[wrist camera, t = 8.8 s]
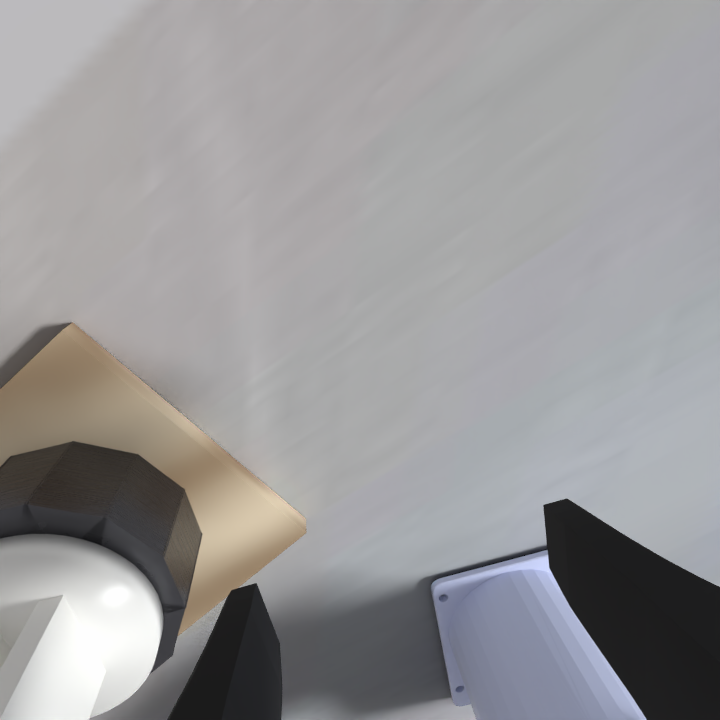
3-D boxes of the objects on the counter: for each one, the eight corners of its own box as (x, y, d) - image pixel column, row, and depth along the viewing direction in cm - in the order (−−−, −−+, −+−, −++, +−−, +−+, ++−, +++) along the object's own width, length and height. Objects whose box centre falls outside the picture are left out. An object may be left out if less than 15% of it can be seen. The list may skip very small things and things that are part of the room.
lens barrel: (224, 589, 23) (213, 669, 20) (27, 641, 23) (-23, 732, 19) (157, 420, 20) (129, 478, 16) (-77, 476, 20) (-161, 548, 16)
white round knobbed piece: (197, 633, 21) (162, 822, 15) (10, 683, 20) (-103, 897, 14) (130, 482, 18) (54, 640, 12) (-88, 536, 18) (-281, 727, 12)
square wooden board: (305, 518, 24) (306, 532, 23) (113, 673, 26) (107, 692, 25) (72, 322, 19) (61, 330, 18) (-143, 527, 21) (-163, 544, 20)
